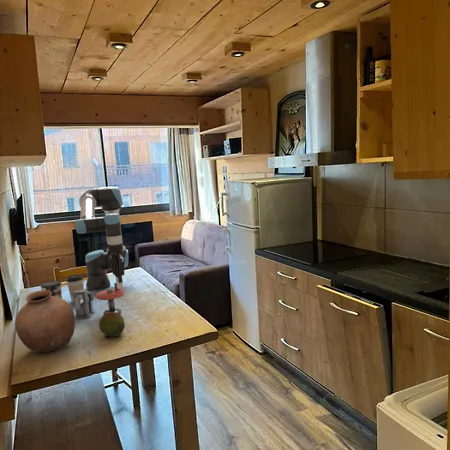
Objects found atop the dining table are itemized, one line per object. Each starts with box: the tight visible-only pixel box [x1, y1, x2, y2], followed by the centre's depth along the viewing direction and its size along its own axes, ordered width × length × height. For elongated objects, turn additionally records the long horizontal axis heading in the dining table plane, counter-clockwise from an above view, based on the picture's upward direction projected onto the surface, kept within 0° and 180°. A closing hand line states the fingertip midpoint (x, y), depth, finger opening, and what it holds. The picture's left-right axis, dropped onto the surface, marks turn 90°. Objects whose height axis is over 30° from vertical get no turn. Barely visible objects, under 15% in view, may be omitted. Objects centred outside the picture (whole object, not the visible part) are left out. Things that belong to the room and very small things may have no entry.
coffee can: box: [40, 280, 63, 299], centre depth 228 cm, size 10×10×14 cm
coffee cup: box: [66, 274, 85, 303], centre depth 237 cm, size 9×9×15 cm
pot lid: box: [95, 282, 125, 301], centre depth 210 cm, size 14×14×5 cm
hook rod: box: [75, 290, 94, 309], centre depth 213 cm, size 18×3×7 cm, turn 0°
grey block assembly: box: [73, 289, 95, 320], centre depth 212 cm, size 12×9×13 cm
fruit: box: [98, 312, 126, 338], centre depth 182 cm, size 12×13×10 cm
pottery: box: [14, 290, 76, 353], centre depth 171 cm, size 23×23×25 cm
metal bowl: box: [103, 299, 122, 316], centre depth 211 cm, size 9×9×9 cm
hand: (120, 288), depth 212 cm, fingers closed
